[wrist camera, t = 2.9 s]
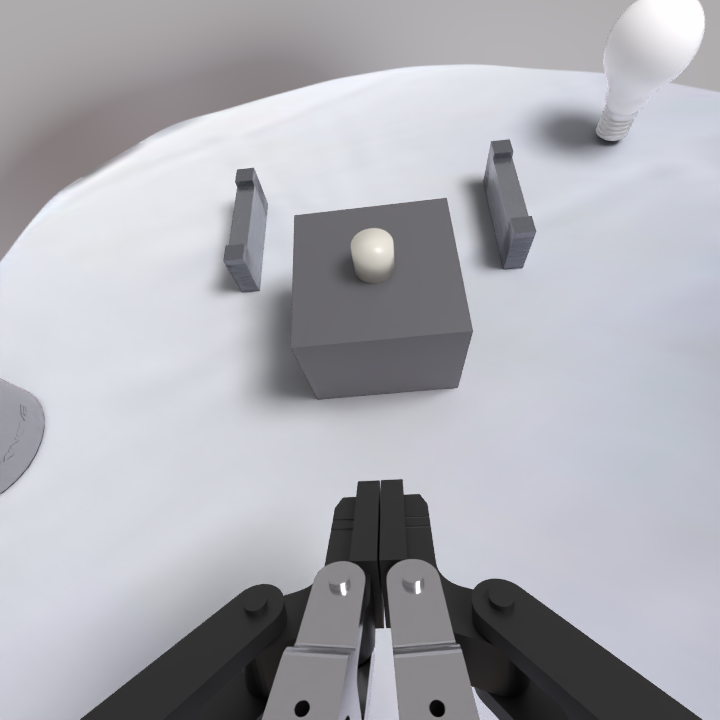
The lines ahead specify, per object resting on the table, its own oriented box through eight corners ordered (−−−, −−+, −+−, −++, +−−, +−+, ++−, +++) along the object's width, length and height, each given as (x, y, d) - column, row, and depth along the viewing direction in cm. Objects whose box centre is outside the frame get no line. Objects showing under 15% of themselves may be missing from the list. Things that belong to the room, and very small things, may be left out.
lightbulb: (654, 158, 37) (741, 11, 28) (579, 163, 38) (638, 22, 28) (635, 112, 40) (707, -35, 30) (565, 118, 41) (614, -24, 31)
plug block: (317, 400, 31) (280, 329, 22) (317, 287, 35) (286, 191, 26) (457, 388, 30) (478, 310, 21) (438, 275, 34) (449, 171, 26)
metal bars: (242, 292, 36) (223, 260, 32) (252, 205, 40) (237, 169, 36) (522, 267, 34) (536, 231, 30) (500, 179, 38) (509, 139, 35)
